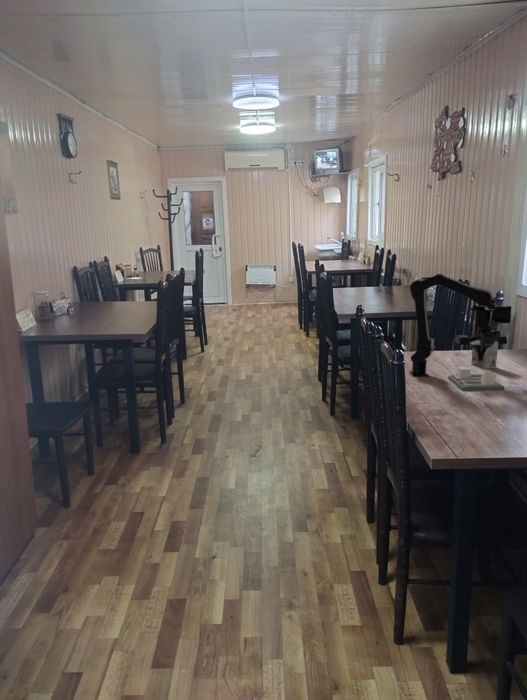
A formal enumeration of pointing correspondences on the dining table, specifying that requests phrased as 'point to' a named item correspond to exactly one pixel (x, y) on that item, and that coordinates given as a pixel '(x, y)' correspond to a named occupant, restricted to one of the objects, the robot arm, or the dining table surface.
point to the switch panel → (473, 383)
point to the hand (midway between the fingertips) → (479, 360)
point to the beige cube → (488, 378)
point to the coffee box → (486, 357)
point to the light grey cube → (464, 372)
